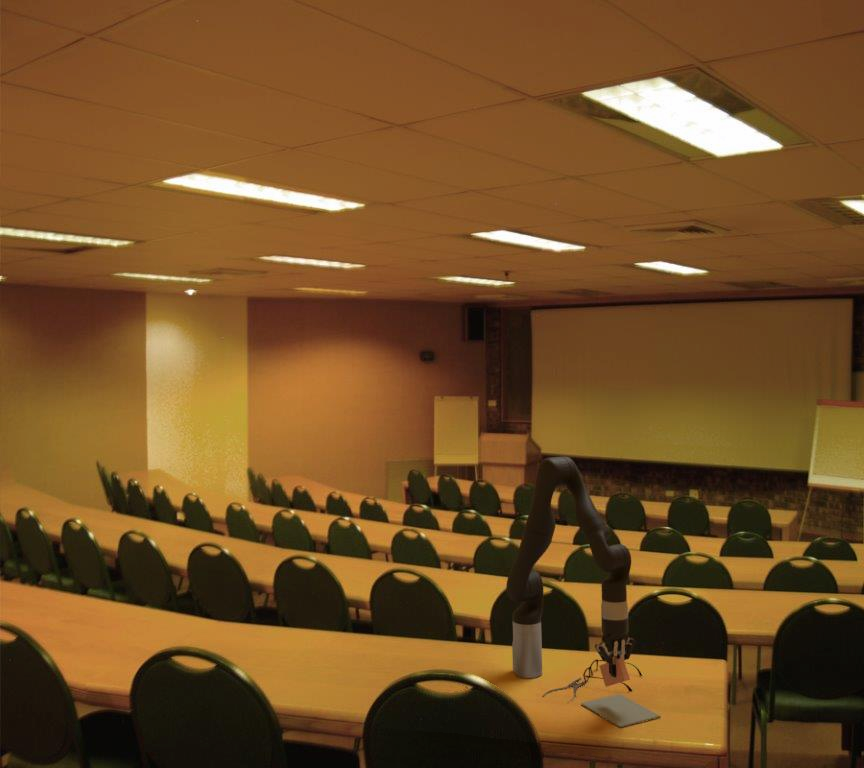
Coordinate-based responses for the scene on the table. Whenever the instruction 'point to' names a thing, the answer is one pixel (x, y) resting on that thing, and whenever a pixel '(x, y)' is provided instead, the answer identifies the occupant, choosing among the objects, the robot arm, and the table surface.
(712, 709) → the table surface
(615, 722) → the mat
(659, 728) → the table surface
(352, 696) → the table surface
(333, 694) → the table surface
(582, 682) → the pliers
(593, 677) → the eyeglasses
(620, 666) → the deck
